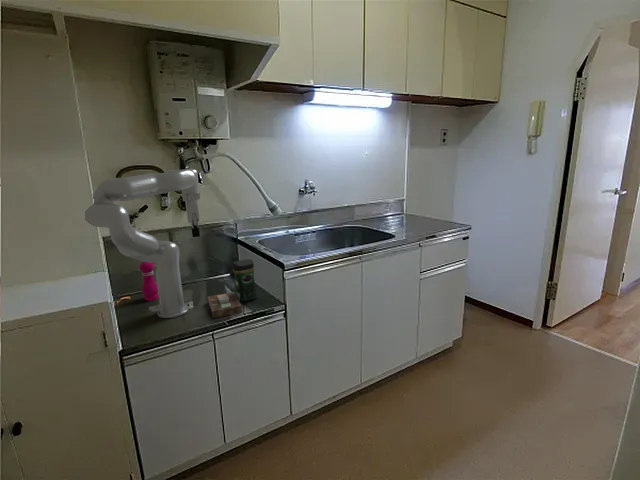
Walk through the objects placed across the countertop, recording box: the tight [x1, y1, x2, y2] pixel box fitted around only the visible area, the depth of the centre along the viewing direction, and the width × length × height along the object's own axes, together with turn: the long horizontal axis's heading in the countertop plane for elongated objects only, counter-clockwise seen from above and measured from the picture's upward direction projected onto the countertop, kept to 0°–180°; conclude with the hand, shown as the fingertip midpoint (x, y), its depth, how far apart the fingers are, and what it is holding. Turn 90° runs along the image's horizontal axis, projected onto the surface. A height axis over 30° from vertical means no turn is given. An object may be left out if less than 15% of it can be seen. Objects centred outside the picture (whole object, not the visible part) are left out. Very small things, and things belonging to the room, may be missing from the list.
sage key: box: [220, 303, 231, 309], centre depth 159 cm, size 4×4×3 cm
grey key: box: [218, 296, 229, 304], centre depth 163 cm, size 4×4×3 cm
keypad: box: [207, 291, 243, 319], centre depth 164 cm, size 12×18×3 cm, turn 23°
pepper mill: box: [139, 261, 159, 302], centre depth 176 cm, size 7×7×20 cm
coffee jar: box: [232, 258, 258, 303], centre depth 171 cm, size 10×8×19 cm
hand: (196, 236), depth 172 cm, fingers closed
